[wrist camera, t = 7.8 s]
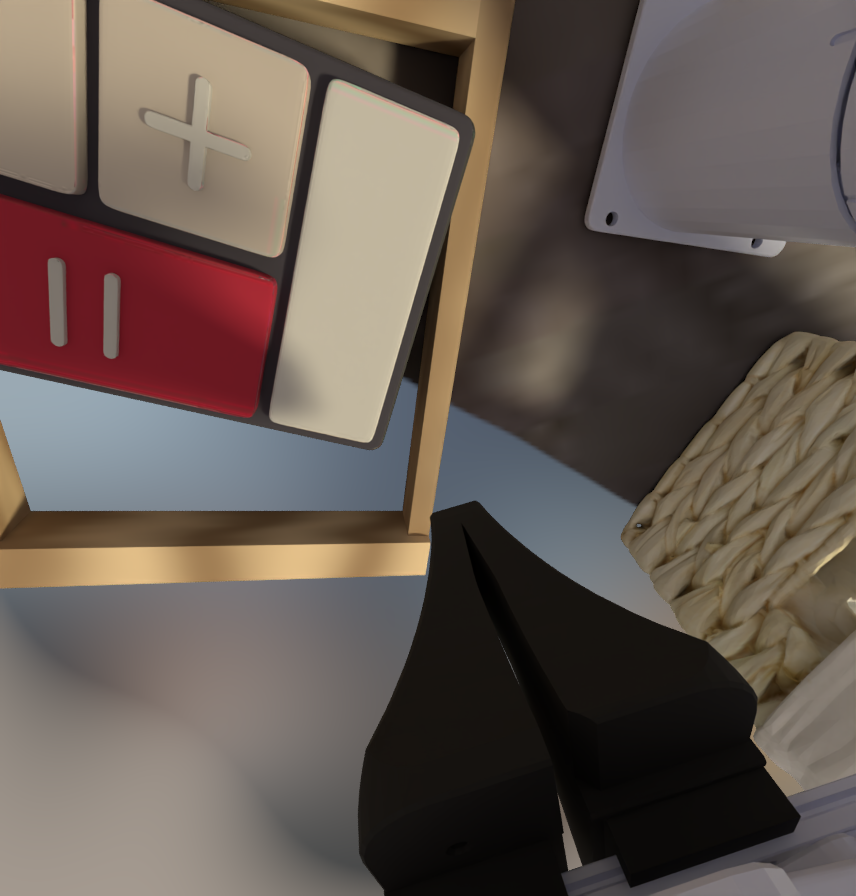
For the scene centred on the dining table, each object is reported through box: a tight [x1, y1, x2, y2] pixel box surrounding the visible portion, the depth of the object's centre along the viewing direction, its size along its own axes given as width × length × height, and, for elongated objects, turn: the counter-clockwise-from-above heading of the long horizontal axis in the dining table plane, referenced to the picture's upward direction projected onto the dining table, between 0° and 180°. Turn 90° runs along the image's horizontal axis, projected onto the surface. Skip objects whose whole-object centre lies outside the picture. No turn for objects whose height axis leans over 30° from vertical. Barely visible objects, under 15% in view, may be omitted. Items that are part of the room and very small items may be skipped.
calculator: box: [0, 0, 475, 450], centre depth 14 cm, size 11×4×15 cm
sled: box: [0, 0, 515, 588], centre depth 16 cm, size 18×21×2 cm
